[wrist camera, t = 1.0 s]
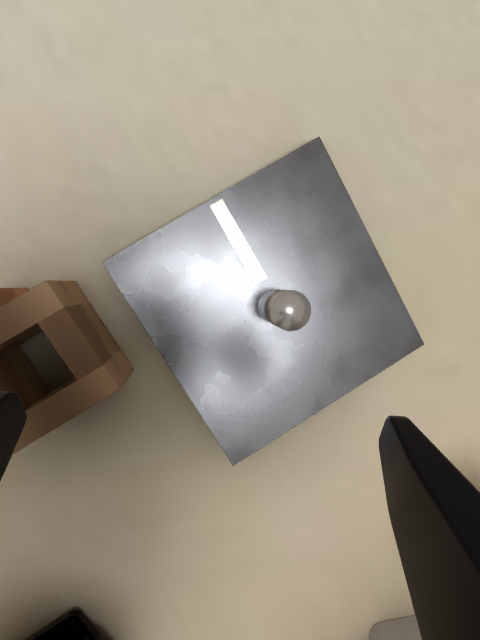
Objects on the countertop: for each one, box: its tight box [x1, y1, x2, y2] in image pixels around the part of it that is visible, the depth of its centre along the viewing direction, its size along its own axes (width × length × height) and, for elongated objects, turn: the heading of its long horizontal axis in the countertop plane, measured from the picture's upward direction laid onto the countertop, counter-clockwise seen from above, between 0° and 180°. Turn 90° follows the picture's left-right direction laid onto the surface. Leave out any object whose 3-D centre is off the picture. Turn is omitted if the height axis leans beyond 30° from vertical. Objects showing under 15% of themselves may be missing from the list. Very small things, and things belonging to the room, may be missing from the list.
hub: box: [102, 137, 424, 465], centre depth 19 cm, size 14×14×4 cm
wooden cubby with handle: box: [0, 281, 134, 454], centre depth 18 cm, size 6×7×4 cm
